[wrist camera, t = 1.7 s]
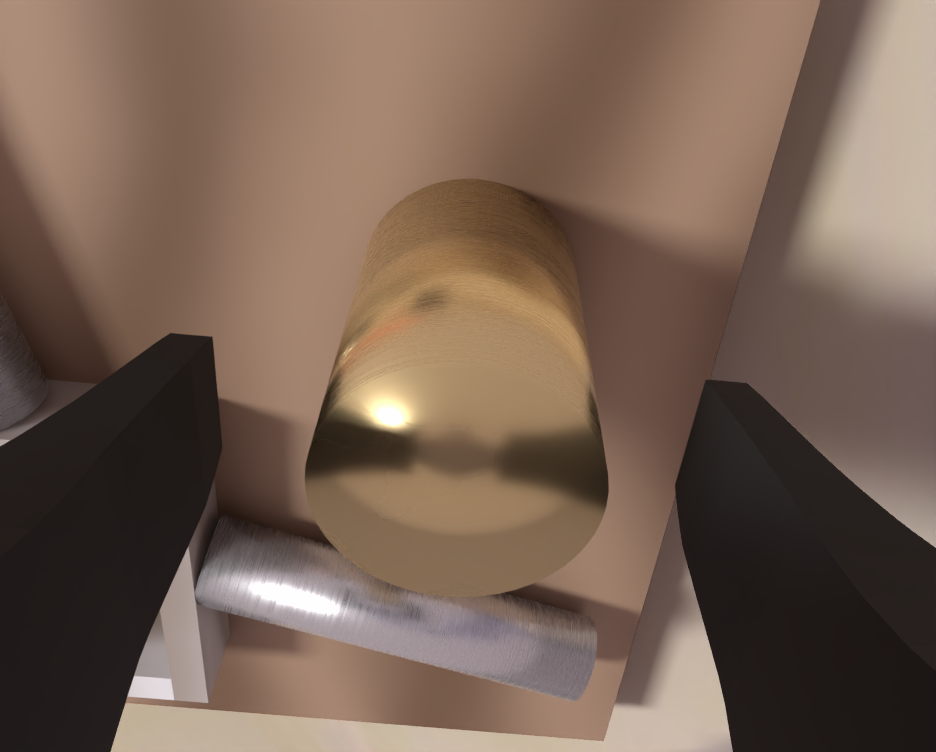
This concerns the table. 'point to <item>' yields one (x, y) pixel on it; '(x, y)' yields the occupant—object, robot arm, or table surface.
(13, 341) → the shaft
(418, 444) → the brass cylinder
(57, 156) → the plate
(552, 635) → the shaft
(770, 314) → the table surface
